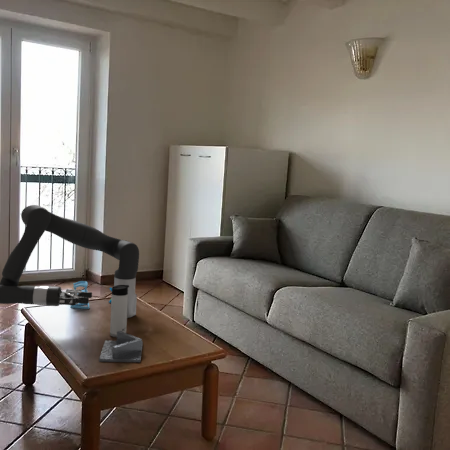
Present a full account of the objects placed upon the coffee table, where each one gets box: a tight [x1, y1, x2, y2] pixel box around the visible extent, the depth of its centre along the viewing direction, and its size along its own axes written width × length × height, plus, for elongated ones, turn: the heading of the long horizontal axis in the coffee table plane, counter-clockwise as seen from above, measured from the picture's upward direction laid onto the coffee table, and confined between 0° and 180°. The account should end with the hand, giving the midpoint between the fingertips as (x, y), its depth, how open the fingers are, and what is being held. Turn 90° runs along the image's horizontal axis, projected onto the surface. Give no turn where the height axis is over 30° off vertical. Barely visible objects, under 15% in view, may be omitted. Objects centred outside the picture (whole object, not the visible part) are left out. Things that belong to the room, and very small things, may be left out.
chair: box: [69, 280, 90, 310], centre depth 237 cm, size 8×8×12 cm
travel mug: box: [109, 285, 129, 338], centre depth 203 cm, size 6×7×20 cm
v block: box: [98, 331, 144, 363], centre depth 186 cm, size 14×18×5 cm
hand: (90, 297), depth 201 cm, fingers open, 8 cm apart
